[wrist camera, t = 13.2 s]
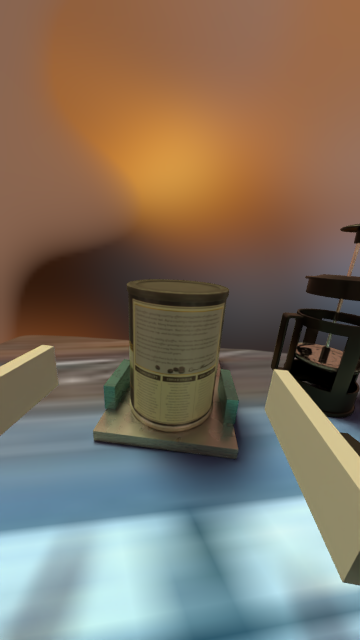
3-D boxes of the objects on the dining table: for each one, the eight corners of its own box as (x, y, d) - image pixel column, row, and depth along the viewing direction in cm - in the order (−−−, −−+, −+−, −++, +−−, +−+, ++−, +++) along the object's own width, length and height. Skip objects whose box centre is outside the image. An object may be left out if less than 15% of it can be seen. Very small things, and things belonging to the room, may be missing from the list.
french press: (331, 380, 33) (380, 233, 26) (378, 424, 24) (471, 217, 17) (260, 371, 34) (289, 229, 27) (279, 409, 25) (329, 212, 18)
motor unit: (217, 356, 38) (224, 301, 35) (238, 459, 18) (260, 351, 15) (145, 349, 39) (146, 295, 36) (91, 440, 19) (82, 335, 16)
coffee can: (116, 389, 25) (112, 278, 21) (180, 368, 31) (187, 279, 27) (155, 452, 17) (161, 295, 13) (231, 408, 23) (251, 290, 19)
